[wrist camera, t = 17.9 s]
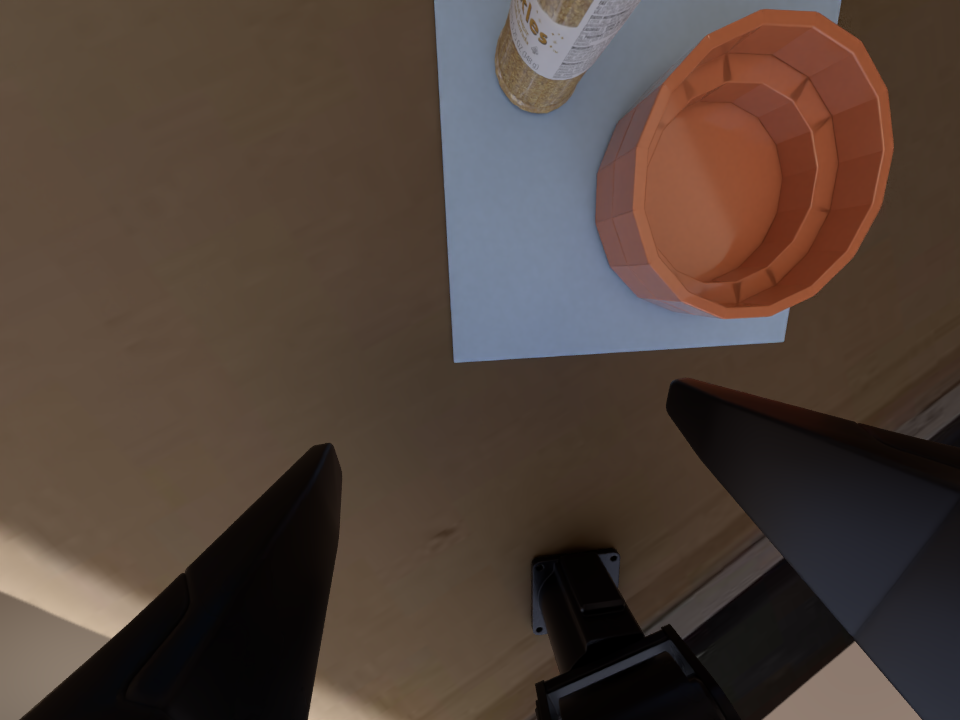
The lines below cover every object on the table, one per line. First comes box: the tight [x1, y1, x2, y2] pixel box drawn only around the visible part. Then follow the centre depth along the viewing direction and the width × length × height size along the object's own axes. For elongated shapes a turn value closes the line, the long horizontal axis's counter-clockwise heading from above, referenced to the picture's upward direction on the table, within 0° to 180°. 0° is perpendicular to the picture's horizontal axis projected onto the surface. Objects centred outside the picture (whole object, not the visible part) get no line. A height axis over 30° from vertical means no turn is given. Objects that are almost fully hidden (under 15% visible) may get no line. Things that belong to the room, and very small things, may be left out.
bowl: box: [595, 9, 894, 319], centre depth 19 cm, size 13×13×4 cm
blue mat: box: [434, 0, 841, 363], centre depth 20 cm, size 24×22×1 cm
